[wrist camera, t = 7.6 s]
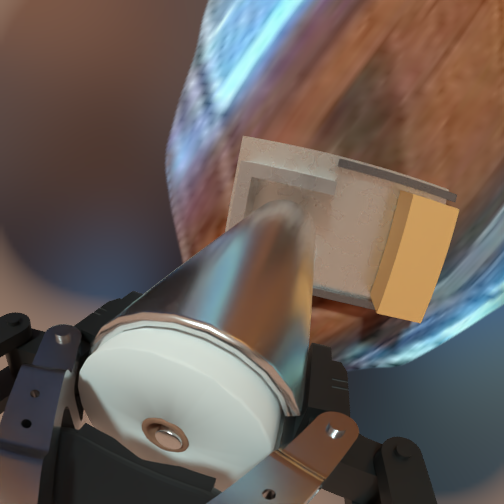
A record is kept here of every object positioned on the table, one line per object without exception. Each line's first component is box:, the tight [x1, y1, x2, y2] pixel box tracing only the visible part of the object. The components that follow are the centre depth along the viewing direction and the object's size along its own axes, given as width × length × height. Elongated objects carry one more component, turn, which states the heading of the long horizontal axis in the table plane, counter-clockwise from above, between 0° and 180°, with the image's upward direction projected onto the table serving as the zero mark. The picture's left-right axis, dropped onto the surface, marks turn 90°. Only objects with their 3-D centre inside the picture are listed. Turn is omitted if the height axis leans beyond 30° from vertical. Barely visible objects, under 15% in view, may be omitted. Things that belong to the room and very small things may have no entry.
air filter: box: [78, 199, 316, 492], centre depth 19 cm, size 6×6×25 cm
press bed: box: [225, 136, 457, 310], centre depth 36 cm, size 28×18×6 cm, turn 79°
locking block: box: [370, 190, 459, 323], centre depth 34 cm, size 6×14×6 cm, turn 169°
